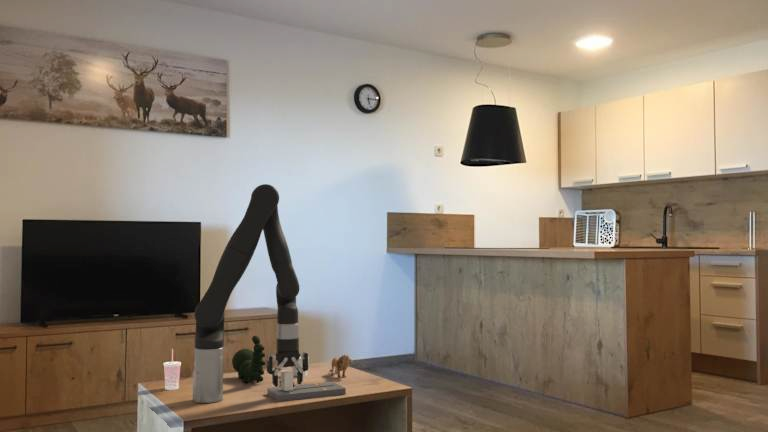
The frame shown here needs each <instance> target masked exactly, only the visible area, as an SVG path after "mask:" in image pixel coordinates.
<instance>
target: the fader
mask: <svg viewBox="0 0 768 432" xmlns="http://www.w3.org/2000/svg"><path fill="white" fill-rule="evenodd" d="M293 385H294V376H293V370H291V369H287V370H280V387H281V389H282V390H284V391H289V390H293Z"/></svg>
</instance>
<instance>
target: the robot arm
mask: <svg viewBox="0 0 768 432" xmlns="http://www.w3.org/2000/svg"><path fill="white" fill-rule="evenodd" d="M279 202H280V195H279V191H278V190H277V188H276V187H275V186H273V185H272V184H268V183H267V184H266V183H265V184H260V185H258V186H256V187H255V188H254V189H253V190H252V192H251V196H250V200H249V203H248V206H247V209H246V211H245V214H244V216H243V218H242V220H241V221H240V223H239V224H238V226H237V227H236V229H235V231H234V232H233V233H232V235H231V237H230V238H229V240H228V242H227V244H226V245H225V248H224V249H223V252H222V254H221V257H220V259H219V260H218V261H219V262H218V264H217V266H216V268H215V272H214V274H213V278H212V280H211V282H210V285H209V287H208V289H207V290H206V292H205V293H204V295H203V296H202V298H201V300H200V301H199V303H198V304H197V306H196V307H195V309H194V313H193V314H194V319H195V336H194V370H192V400H193V401H194V402H195V403H196V404H200V403H201V404H202V403H203V404H209V403H217V402H221V401H222V400H223V399H224V341H225V310H226V307H227V304H228V302H229V300H230V298H231V297H230V296H231V295H232V293H233V291H234V289H235V287H236V286H237V284H238V283H239V282H240V280H241V279H242V277H243V276H244V274H245V271H246V270H247V268H248V267H249V264H250V262H251V260H252V258H253V256H254V253H255V251H256V249H257V246H258V244H259V241H260V238H261V235H262V232H263V234H264V235H263V236H264V240H265V244H266V249H267V255H268V258H269V262H270V265H271V268H272V271H273V273H274V275H275V279H276V282H277V283H276V287H275V293H276V294H275V295H276V296H275V297H276V303H277V304H276V305H277V306H276V307H277V314H276V315H277V317H276V318H277V319H276V323H277V326H276V334H275V335H276V336H275V337H276V354H275V355H270V354H268V355H267V357H266V373H267V374H269V375H272V376H271V378H272V385H273V386H274V387H279V372H281V371H282V368H288V367H291V368H292V367H293V366H294V367H295V368H296V369H297V371H298V372H297V376H296V383H297V384H296V385H302V383H303V378H304V376H303V372H304V371H307V370H309V363H308V357H309V354H308V353H307V352H304V351H303V352H301V353H300V345H299V344H300V327H299V309H298V307H297V296H298V295H299V293H300V284H299V279H298V276H297V274H296V272H295V269H294V266H293V262H292V261H293V260H292V257H291V254H290V249H289V246H288V242H287V240H286V237H285V235H284V231H283V229H282V225H281V222H280V217H279V208H278V205H279ZM300 357H301V359H302V363H303V367H302V368H301V367H300V365H299V363H298V362H297V361H298V359H299V358H300ZM275 360H276V361H277V362H276V364H275V366H274V365H273V364H274V362H275ZM273 366H274V368H273Z"/></svg>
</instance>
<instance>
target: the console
mask: <svg viewBox="0 0 768 432" xmlns="http://www.w3.org/2000/svg"><path fill="white" fill-rule="evenodd" d="M293 385H294V387H293V390H289V391H284V390H282V389H281V386H278V387H275V386H274V387H267V393H266V394H267V395H268V396H270V397H271V398H272V399H274V400H276V402H279V403H280V402H287V401H296V400H304V399H305V400H306V399H314V398H315V399H316V398H323V397H324V398H325V397H333V396H340V395H341V396H342V395H346V393H347V392H346V391H347V389H346V388H345V387H344V386H342V385H340V384H338V383H336V382H334V381H325V382H313V383H304V384H296V385H295V384H293Z"/></svg>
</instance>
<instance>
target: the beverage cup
mask: <svg viewBox="0 0 768 432" xmlns="http://www.w3.org/2000/svg"><path fill="white" fill-rule="evenodd" d="M181 366H182V362H181V361H174V348H171V361H166V362H165V361H164V362H163V367H164V370H163V371H164V389H165V390H167V391H168V390H169V391H173V390H178V389H180V376H181V375H180V374H181Z"/></svg>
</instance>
